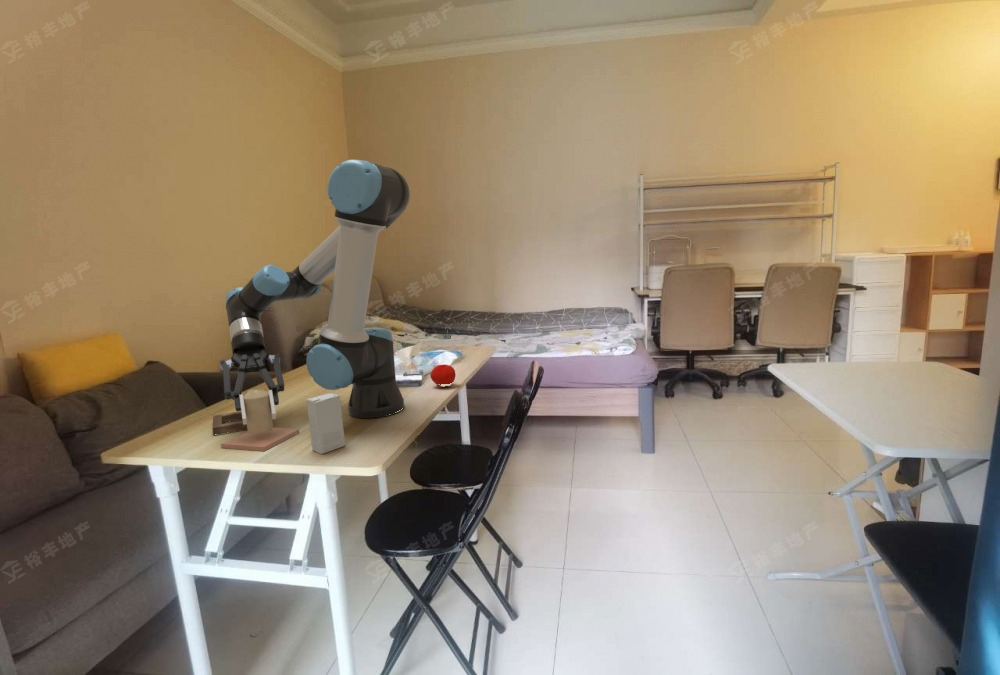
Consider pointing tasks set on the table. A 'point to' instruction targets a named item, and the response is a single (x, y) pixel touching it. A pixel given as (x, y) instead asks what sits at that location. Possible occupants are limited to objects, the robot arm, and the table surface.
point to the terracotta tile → (260, 439)
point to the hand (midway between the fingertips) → (259, 418)
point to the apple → (443, 374)
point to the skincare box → (325, 423)
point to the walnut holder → (228, 427)
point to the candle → (258, 411)
